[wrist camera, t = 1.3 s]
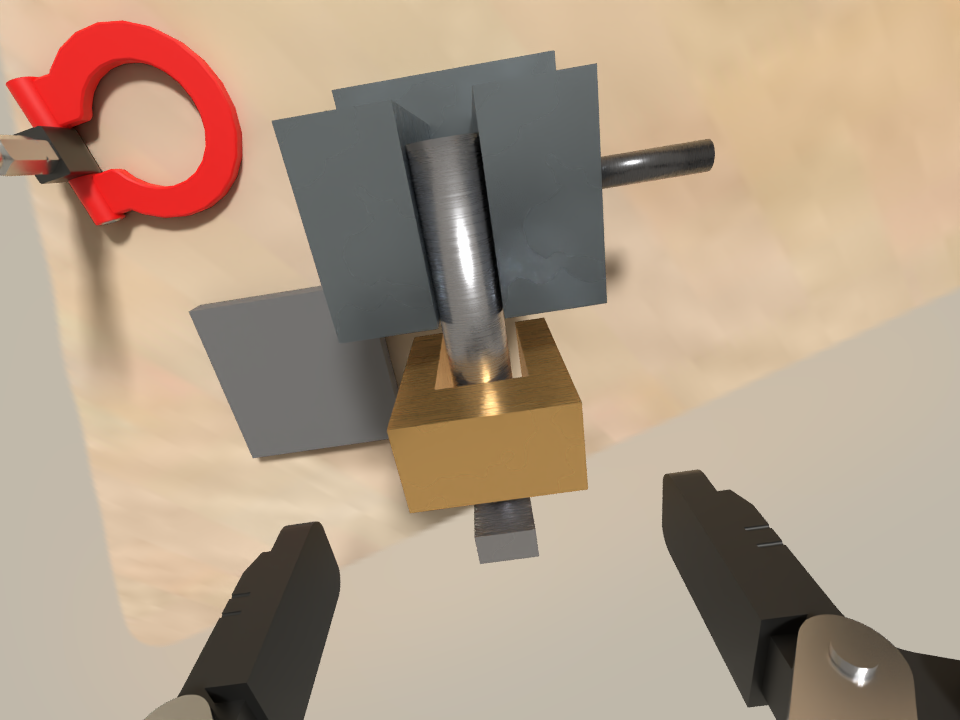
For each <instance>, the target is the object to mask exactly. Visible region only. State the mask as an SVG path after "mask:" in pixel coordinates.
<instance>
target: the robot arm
mask: <svg viewBox="0 0 960 720" xmlns="http://www.w3.org/2000/svg"><path fill="white" fill-rule="evenodd" d="M662 509H663V510H662V528H663V534H664V538H665V542H666V545H667V548H668V551H669V553H670V555H671V557H672V559H673V561H674V563H675V565H676V567H677V569H678V570H679V573H680V575H681V577H682V579H683V581H684V583H685V584H686V587H687V589H688V591H689V592H690V595H691V596H692V598H693V600H694V602H695V604H696V606H697V608H698V610H699V612H700V614H701V616H702V618H703V620H704V622H705V624H706V626H707V628H708V630H709V632H710V634H711V636H712V638H713V640H714V642H715V644H716V646H717V648H718V650H719V652H720V654H721V655H722V658H723V659H724V661H725V663H726V665H727V667H728V669H729V671H730V673H731V675H732V677H733V679H734V681H735V683H736V685H737V687H738V689H739V691H740V693H741V695H742V697H743V699H744V701H745V703H746V705H747V707H755V706H764V705H769V707H770V709H771V711H772V712H773V714H774V716H775V718H776V720H960V660H955V659H948V658H943V657H937V656H932V655H926V654H920V653H914V652H910V651H906V650H902V649H899V648H896V647H895V646H894V645H893V644H892V643H891V642H890V641H888V640H887V639H886V638H885V637H883V636H882V635H881V634H880V633H878V632H876V631H875V630H873V629H872V628H870V627H868V626H866V625H864V624H862V623H860V622H858V621H855V620H853V619H850V618H847V617H844V615H843V614H842V613H841V612H840V611H839V610H838V609H837V608H836V606H835V605H834V604H833V603H832V602H831V600H830V599H829V598H828V597H827V595H826V594H825V593H824V592H823V591H822V589H821V588H820V587H819V585H818V584H817V583H816V582H815V581H814V579H813V578H812V577H811V576H810V574H809V573H808V572H807V571H806V569H805V568H804V567H803V566H802V565H801V563H800V562H799V561H798V560H797V558H796V557H795V556H794V555H793V554H792V552H791V551H790V550H789V549H788V547H787V546H786V545H783V543H782V540H781V539H780V538H779V536H778V535H777V534H776V533H775V532H774V530H773V529H772V528H769V524H768V523H767V522H766V520H765V519H764V518H763V517H762V515H761V514H760V513H759V512H758V510H757V509H756V508H755V507H754V506H753V505H752V504H751V503H749V502H748V501H746V500H745V499H743V498H742V497H740V496H739V495H737V494H736V493H734V492H733V491H731V490H723V491H716V489H715V488H714V486H713V485H712V484H711V483H710V481H709V480H708V478H707V477H706V476H705V474H704V473H703V472H702V471H700V470H692V471H684V472H677V473H670V474H665V475H664V477H663V504H662ZM339 592H340V572H339V567H338V565H337V562H336V559H335V557H334V554H333V552H332V549H331V546H330V544H329V541H328V539H327V536H326V534H325V531H324V528H323V526H322V525H321V523H320V522H309V523H302V524H295V525H288V526H285V527H284V528H283V529H282V530H281V532H280V534H279V536H278V538H277V540H276V542H275V544H274V546H273V548H272V550H271V551H269V552H262V553H261V554H260V555H259V556H258V558H257V559H256V560H255V561H254V562H253V563H252V564H251V565H250V566H249V567H248V568H247V569H246V570H245V571H244V573H243V574H242V576H241V578H240V580H239V582H238V584H237V586H236V588H235V590H234V591H233V593H232V599H229V601H228V603H227V605H226V607H225V609H224V610H223V612H222V618H219V620H218V622H217V624H216V626H215V627H214V629H213V631H212V633H211V635H210V637H209V639H208V641H207V643H206V645H205V647H204V648H203V650H202V652H201V654H200V656H199V658H198V660H197V662H196V664H195V666H194V667H193V669H192V671H191V673H190V675H189V677H188V679H187V681H186V682H185V684H184V686H183V688H182V690H181V692H180V693H179V695H178V697H177V698H175V699H172V700H170V701H168V702H166V703H165V704H163V705H161V706H160V707H158V708H157V709H156V710H154V711H153V712H152V713H150V714H149V715H148V716H147V717H146V718H145V719H144V720H304V716H305V712H306V709H307V705H308V702H309V699H310V695H311V691H312V688H313V684H314V681H315V677H316V674H317V670H318V667H319V663H320V660H321V656H322V653H323V649H324V646H325V642H326V639H327V635H328V632H329V628H330V625H331V621H332V617H333V614H334V611H335V607H336V604H337V600H338V597H339Z"/></svg>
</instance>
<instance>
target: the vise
mask: <svg viewBox="0 0 960 720" xmlns="http://www.w3.org/2000/svg"><path fill="white" fill-rule="evenodd" d="M332 93H333V97H334V101H335V105H336V110H330V111H324V112H319V113H313V114H308V115H302V116H296V117H291V118H285V119H279V120H274V121H272V124H273V127H274V131H275V134H276V137H277V140H278V144H279V147H280V150H281V154H282V157H283V160H284V163H285V167H286V170H287V173H288V177H289V180H290V183H291V186H292V190H293V193H294V196H295V200H296V203H297V206H298V209H299V213H300V216H301V219H302V223H303V226H304V229H305V232H306V236H307V239H308V242H309V246H310V249H311V252H312V255H313V259H314V262H315V265H316V269H317V272H318V275H319V278H320V282H321V285H322V288H323V292H324V295H325V298H326V301H327V305H328V308H329V311H330V315H331V318H332V321H333V324H334V328H335V331H336V334H337V337H338V341H339V344H341V343H348V342H355V341H361V340H368V339H374V338H381V337H387V336H394V335H400V334H407V333H413V332H420V331H427V330H433V329H438V326H439V321H441V326H442V331H443V336H444V341H445V346H446V351H447V356H448V361H449V366H450V371H451V376H452V381H453V386H454V387H459V386H465V385H472V384H479V383H486V382H493V381H499V380H506V379H513V378H512V371H511V364H510V356H509V349H508V342H507V335H506V328H505V321H504V317H505V318H512V317H518V316H525V315H531V314H538V313H544V312H551V311H558V310H564V309H571V308H577V307H584V306H590V305H597V304H603V303H607V294H606V270H605V247H604V223H603V199H602V189H605V188H611V187H617V186H623V185H629V184H635V183H641V182H647V181H653V180H659V179H665V178H672V177H678V176H684V175H690V174H696V173H702V172H708V171H710V169H711V168H712V166H713V163H714V158H715V150H714V145H713V142H712V141H711V140H710V139H705V140H699V141H693V142H687V143H681V144H675V145H669V146H663V147H657V148H651V149H645V150H639V151H633V152H627V153H621V154H615V155H609V156H603V157H601V152H600V128H599V104H598V81H597V63H596V64H590V65H585V66H579V67H573V68H568V69H562V70H556V65H555V51H548V52H543V53H537V54H531V55H526V56H520V57H515V58H509V59H503V60H498V61H492V62H487V63H481V64H476V65H470V66H464V67H459V68H453V69H448V70H442V71H436V72H431V73H425V74H420V75H414V76H408V77H403V78H397V79H392V80H386V81H381V82H375V83H369V84H364V85H358V86H353V87H347V88H341V89H336V90H332ZM503 312H504V314H503ZM474 520H475V523H474V524H475V542H476V546H477V551H478V556H479V560H480V564H483V563H490V562H498V561H506V560H514V559H522V558H529V557H536V556H539V552H538V545H537V538H536V531H535V524H534V519H533V513H532V508H531V501H530V497H527V498H520V499H512V500H505V501H497V502H490V503H482V504H475V505H474Z"/></svg>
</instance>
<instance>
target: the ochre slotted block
mask: <svg viewBox="0 0 960 720" xmlns="http://www.w3.org/2000/svg"><path fill="white" fill-rule="evenodd" d="M515 326H516V334H517V341H518V349H519V357H520V364H521V372H522V377H520V378H513V379H506V380H499V381H493V382H486V383H479V384H472V385H465V386H459V387H454V386H453V381H452V376H451V371H450V366H449V361H448V356H447V351H446V346H445V341H444V336H443V333H440V334H433V335H427V336H420V337H415V338H414V341H413V344H412V348H411V351H410V354H409V358H408V361H407V364H406V368H405V371H404V374H403V378H402V381H401V384H400V388H399V391H398V394H397V398H396V401H395V404H394V408H393V411H392V414H391V418H390V421H389V424H388V428H387V433H388V437H389V441H390V444H391V448H392V451H393V455H394V458H395V462H396V465H397V469H398V472H399V476H400V480H401V483H402V487H403V490H404V494H405V497H406V501H407V504H408V508H409V511H410V513H415V512H423V511H430V510H438V509H445V508H453V507H460V506H467V505H475V504H482V503H490V502H497V501H505V500H512V499H520V498H527V497H534V496H541V495H548V494H557V493H564V492H572V491H579V490H587V489H588V483H587V469H586V455H585V441H584V427H583V413H582V402H581V400H580V397H579V395H578V393H577V391H576V388H575V386H574V384H573V382H572V379H571V377H570V375H569V373H568V370H567V368H566V366H565V364H564V361H563V359H562V357H561V355H560V352H559V350H558V348H557V346H556V343H555V341H554V339H553V337H552V334H551V332H550V330H549V328H548V325H547V323H546V321H545V319H544V318H539V319H532V320H525V321H519V322H515Z"/></svg>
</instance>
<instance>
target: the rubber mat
mask: <svg viewBox="0 0 960 720" xmlns="http://www.w3.org/2000/svg"><path fill="white" fill-rule="evenodd" d="M189 313H190V316H191V318H192V320H193V322H194V325H195V327H196V329H197V332H198V334H199V336H200V338H201V341H202V343H203V345H204V348H205V350H206V352H207V354H208V357H209V359H210V361H211V364H212V366H213V368H214V370H215V373H216V375H217V377H218V380H219V382H220V384H221V386H222V389H223V391H224V393H225V396H226V398H227V400H228V402H229V405H230V407H231V409H232V412H233V414H234V416H235V418H236V421H237V423H238V425H239V428H240V430H241V432H242V434H243V437H244V439H245V441H246V444H247V446H248V448H249V450H250V453H251V455H252V457H253V458H258V457H265V456H272V455H279V454H286V453H293V452H300V451H307V450H314V449H321V448H328V447H335V446H342V445H349V444H357V443H364V442H371V441H378V440H385V439H389V437H388V433H387V428H388V424H389V421H390V418H391V414H392V411H393V408H394V404H395V401H396V398H397V394H398V387H397V383H396V379H395V375H394V371H393V367H392V363H391V360H390V356H389V352H388V348H387V344H386V340H385V337H381V338H374V339H368V340H361V341H355V342H348V343H341V344H339V341H338V337H337V334H336V331H335V328H334V324H333V321H332V318H331V315H330V311H329V308H328V305H327V301H326V298H325V295H324V292H323V288H322V286H318V287H311V288H305V289H299V290H292V291H286V292H280V293H274V294H267V295H261V296H255V297H248V298H242V299H236V300H229V301H223V302H217V303H211V304H204V305H200V306H198V307H196V308H194V309H193V310H191V311H189Z"/></svg>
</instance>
